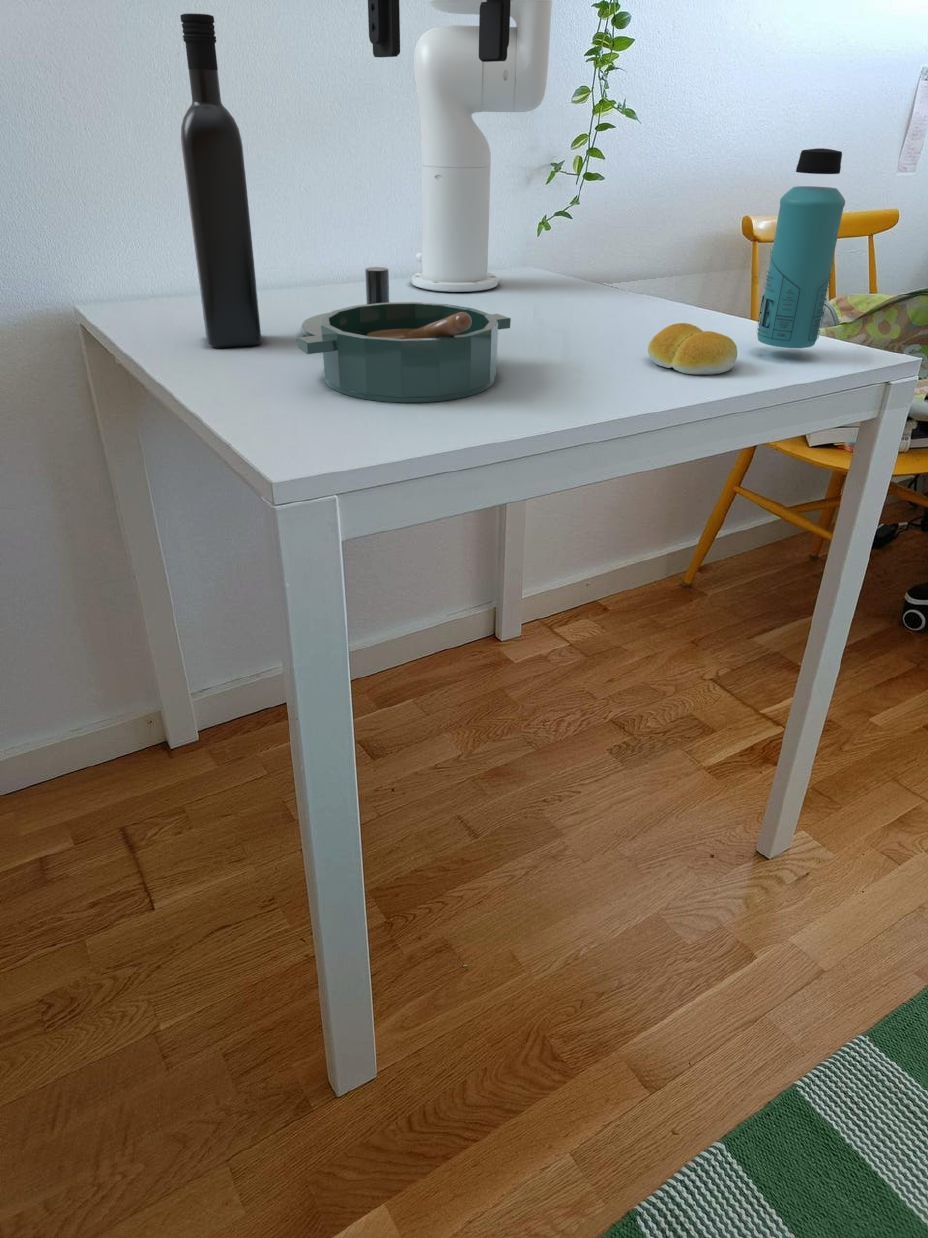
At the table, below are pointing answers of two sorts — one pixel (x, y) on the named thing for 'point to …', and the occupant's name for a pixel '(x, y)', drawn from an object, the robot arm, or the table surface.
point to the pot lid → (374, 294)
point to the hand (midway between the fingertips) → (441, 58)
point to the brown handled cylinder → (430, 328)
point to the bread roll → (692, 350)
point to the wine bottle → (217, 198)
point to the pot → (406, 353)
